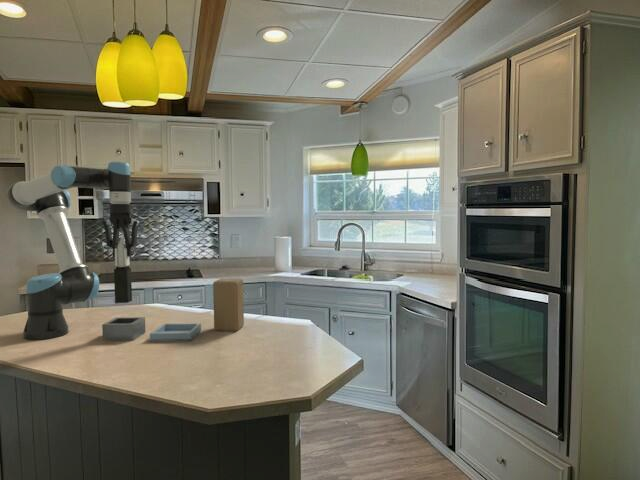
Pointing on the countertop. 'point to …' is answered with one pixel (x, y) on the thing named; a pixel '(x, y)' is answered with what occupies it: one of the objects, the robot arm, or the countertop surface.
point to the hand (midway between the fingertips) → (122, 265)
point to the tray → (176, 332)
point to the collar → (123, 328)
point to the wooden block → (228, 304)
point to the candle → (122, 277)
